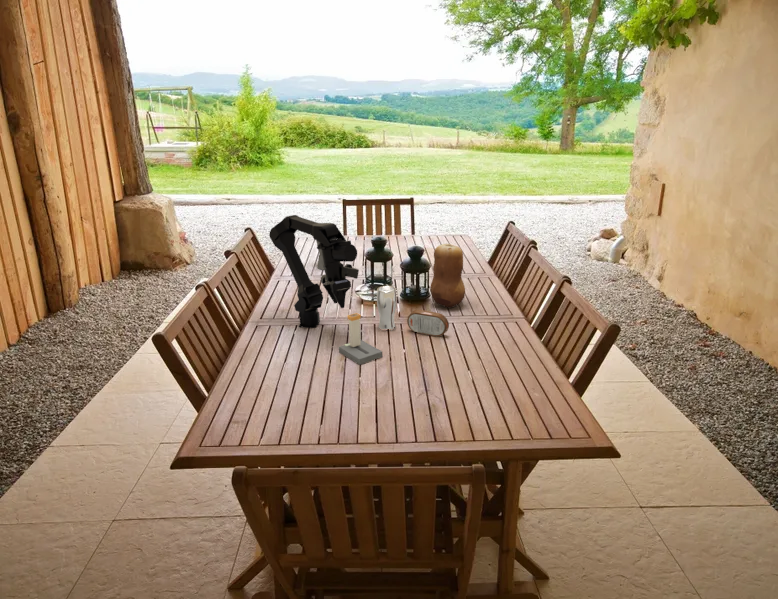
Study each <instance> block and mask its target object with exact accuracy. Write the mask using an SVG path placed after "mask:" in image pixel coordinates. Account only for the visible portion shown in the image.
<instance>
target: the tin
mask: <svg viewBox="0 0 778 599" xmlns="http://www.w3.org/2000/svg"><path fill="white" fill-rule="evenodd" d="M406 322H407V326H408V328H409V329H410V330H411V331H412V332H414V333H415V332H417V333H416V334H419V333H422V334H421V335H425V334H427V336H430V337H431V336H432V337H436V336H437V337H441V336H443V335H444V334H446V333H447V332H448V330H449V326H450V323H449V320H448V318H447V317H446V316H445V315H444V314H442V313H440V312H435V311H429V310H425V309H414V310H412V311H411V313H410V314H409V315H408V316H407V321H406Z"/></svg>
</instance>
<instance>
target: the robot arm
mask: <svg viewBox="0 0 778 599" xmlns="http://www.w3.org/2000/svg"><path fill="white" fill-rule="evenodd" d="M297 231H298V232H302V233H305V234H308V235H310V236H312V238H313V240H314V241H318V242H320V244H319V245H318V246H317V245H316V246H317V247H316V249H317V250H318V249H321V251H322V257H323V262H324V265H323V268H324V269H325V270H324V274H322V276H320V283H321V285H322V286H323V288H324V289H325V291H326V292H327V294H328V295H329V297H330V298H331V300H332V302H333V304H338V306H339V307H340V309H344V308H345V303H346V295H347V293H348V291H349V290H351V288H352V283H351V280H349V279H348V278H353V279H355V280H356V279H358V277H359V272H360V270H359V269H358V268H356V267H353V265H352V264H349V262H351V263H352V262H354V261H355V260H356V259H357V257H358V249H357V247H355V245H354V244H353V243H352V242H351V240H347V239H346V238H345V236H344V235H343V234H342V232H341V231H340V230H339V228H338V226H337V225H336V224H335V223H332V222H316V221H313V220H310V219H307V218H304V217H302V216H299V215H297V214H291V215H287V216H285V217H284V218H282V220H281V221H279V222H278V223H277V224H276V225H274V226H273V227H271V229H270V230H269V234H268V236H269V238H270V241H271V242H272V244H273V246H274V247H275V248H277V249H278V250H280V251H281V253H282V255H283V257H284V259H285V262H286V263H287V265H288V267H289V269H290V273H291V274H292V277H293V279H294V280H295V282H296V286H297V295H296V296H297V298H298V300H297V301H296V302H295V304H294V305H293V307H294V310H295V311H296V312H298V313H299V325H298V328H308V329H316V328H317V327H318V325H319V324H320V322H321V321H320V320H321V319H320V318H321V317H320V311H319V308H322V306H323V300H324V295H323V293H324V292H323V291H322V289H321V288H320V284H319V283H314V282H312V280H311V279H310V276H309V274H308V272H307V270H306V268H305V266H304V263H303V262H302V260H301V257H300V255H299V252H298V250H297V248H296V236H295V234H296V232H297ZM342 262H348V263H346V264H345V265H344V263H342Z"/></svg>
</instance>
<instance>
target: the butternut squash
mask: <svg viewBox="0 0 778 599" xmlns="http://www.w3.org/2000/svg"><path fill="white" fill-rule="evenodd" d="M433 258H434V259H433V260H434V261H433V266H432V267H433V268H432V270H433V278H432V280H431V284H430V286H429V290H430V294H431V298H432V300H433V301H434V302H435V304H438V305H439V306H440V305H441V306H443V307H444V308H447V309H448V308H450V309H452V308H454V307H457V306H458V305H461V303H462V302H463V301H464V298H465V296H466V288H465V284H464V281H463V278H462V273H463V269H464V251H463V250H462V248H460V247H459V246H458V245H455V244H452V243H443V244H439V245H438V246H436V248H435V249H434V251H433Z"/></svg>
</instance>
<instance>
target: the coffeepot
mask: <svg viewBox="0 0 778 599" xmlns="http://www.w3.org/2000/svg"><path fill="white" fill-rule="evenodd" d="M315 241H316V240H315ZM319 244H320V242H318V241H316V246H318V245H319ZM317 251H318V253H319V254H318V260H317V269H318V270H321V271H325V269H324V268H323V265H324V262H323V257H322V251H321V249H317Z"/></svg>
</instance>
